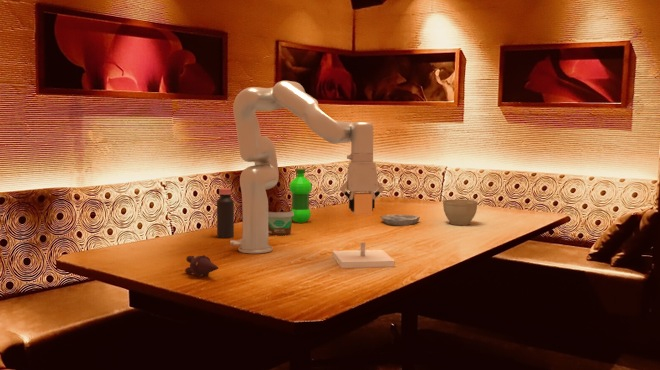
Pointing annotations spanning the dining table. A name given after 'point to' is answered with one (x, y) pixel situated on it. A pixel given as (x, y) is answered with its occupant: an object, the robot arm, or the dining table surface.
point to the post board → (363, 258)
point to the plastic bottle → (300, 197)
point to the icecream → (200, 266)
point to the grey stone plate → (400, 219)
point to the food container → (280, 223)
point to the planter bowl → (460, 211)
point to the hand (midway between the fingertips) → (361, 210)
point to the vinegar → (225, 214)
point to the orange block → (362, 203)
